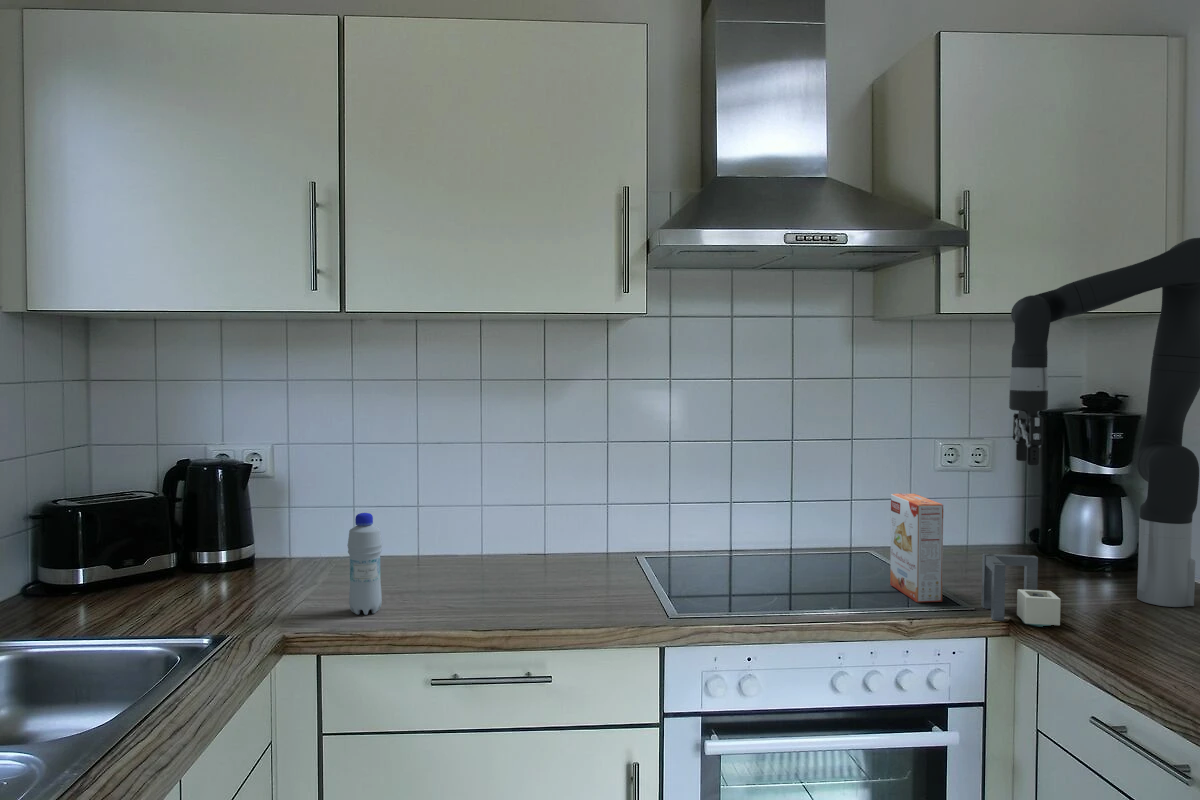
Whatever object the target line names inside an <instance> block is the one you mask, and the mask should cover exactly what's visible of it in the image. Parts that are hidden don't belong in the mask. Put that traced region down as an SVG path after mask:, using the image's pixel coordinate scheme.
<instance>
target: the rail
mask: <svg viewBox="0 0 1200 800" xmlns="http://www.w3.org/2000/svg"><path fill="white" fill-rule="evenodd" d="M981 562H982V563H981V564H982V565H981V567H982V568H981V604H980V605H981V607H982V609H983V608H985V609H984V610H990V618H991V619H992V621H1000V622H1002V621H1003V622H1005V612H1006V611H1005V609H1006V608H1005V607H1006V604H1005V602H1006V601H1005V600H1006V570H1007V569H1006V566H1013V567H1014V566H1015V567H1024V569H1023V571H1024V572H1023V590H1038V579H1039V578H1038V577H1039V576H1038V574H1039V573H1038V571H1039V557H1038V556H1036V555H1028V554H1027V555H1024V554H1023V555H1021V554H1001V553H1000V554H998V553H982V560H981Z"/></svg>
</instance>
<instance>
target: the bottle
mask: <svg viewBox="0 0 1200 800" xmlns="http://www.w3.org/2000/svg"><path fill="white" fill-rule="evenodd" d="M382 547H383V541H382V536H381V528H379V527H378V526H376V525H374V516H373V514H371V513H368V512H361V513H360V512H359V513H357V514H356V515H355V525H354V527H352V528H350V530H349V532H348V540H347V553H348V555H349V592H348V594H349V595H348V596H349V597H348V604H349V605H348V606H349V609H350V611H351V612H352V613H354V614H356V615H358V616H359V615H361V611H363V614H364V615H365V616H367V615H368V614H369V612H370V611H371V614H376V613H377V612H378V611H379V610H380V609H381V607H382V603H383V601H382V599H383V598H382V584H381V583H382V581H381V553H382V551H383V550H382V549H383V548H382Z"/></svg>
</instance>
